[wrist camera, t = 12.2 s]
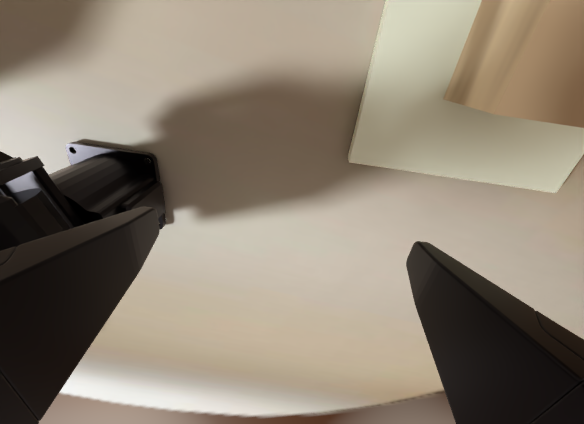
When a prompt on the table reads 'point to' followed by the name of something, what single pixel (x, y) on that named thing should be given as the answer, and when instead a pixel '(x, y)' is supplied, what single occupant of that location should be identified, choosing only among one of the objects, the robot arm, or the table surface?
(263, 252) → the table surface
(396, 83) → the sage board
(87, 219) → the robot arm
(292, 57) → the table surface
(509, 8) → the maple cube
